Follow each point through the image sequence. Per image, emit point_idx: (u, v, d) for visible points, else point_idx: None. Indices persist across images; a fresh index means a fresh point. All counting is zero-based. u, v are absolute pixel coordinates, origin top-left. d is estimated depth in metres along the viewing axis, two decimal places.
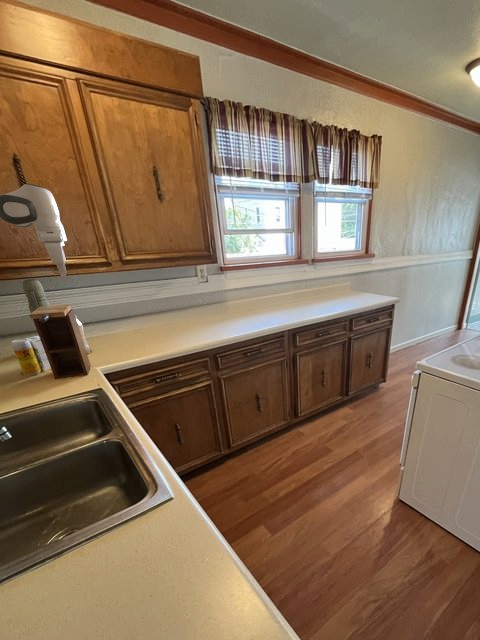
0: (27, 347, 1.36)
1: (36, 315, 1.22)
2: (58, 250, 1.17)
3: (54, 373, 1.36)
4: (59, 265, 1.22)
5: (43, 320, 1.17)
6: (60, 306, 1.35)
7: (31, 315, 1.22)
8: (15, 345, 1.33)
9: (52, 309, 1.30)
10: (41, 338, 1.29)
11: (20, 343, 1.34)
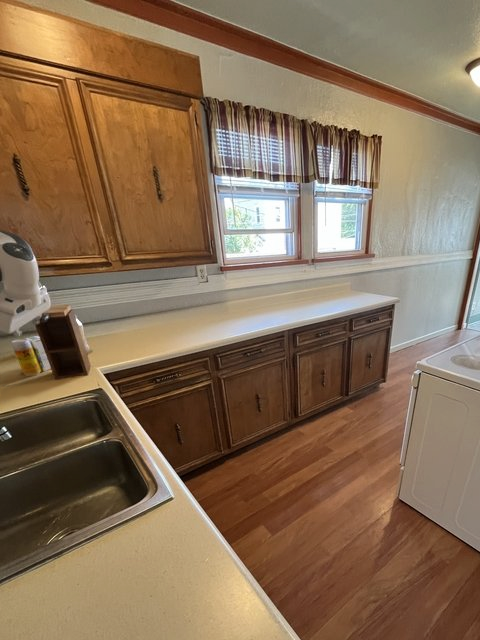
0: (27, 347, 1.36)
1: None
2: (4, 322, 1.01)
3: (54, 373, 1.36)
4: None
5: (43, 320, 1.17)
6: (60, 306, 1.35)
7: None
8: (15, 345, 1.33)
9: (52, 309, 1.30)
10: (41, 338, 1.29)
11: (20, 343, 1.34)
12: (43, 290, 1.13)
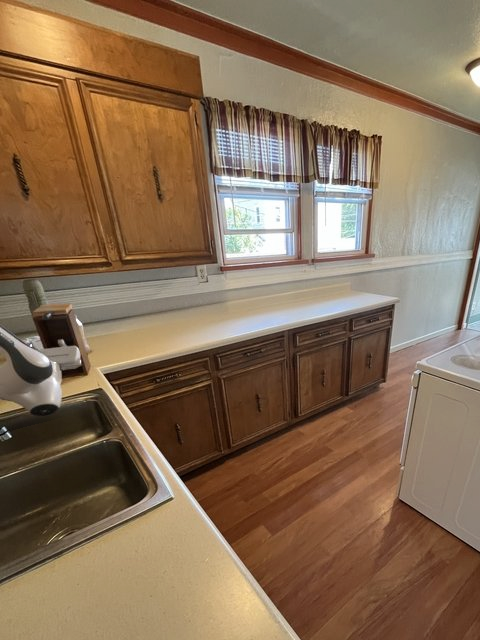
0: None
1: (39, 313, 1.26)
2: None
3: None
4: None
5: (46, 317, 1.20)
6: (62, 304, 1.39)
7: (34, 313, 1.25)
8: None
9: (54, 307, 1.33)
10: (41, 338, 1.29)
11: None
12: None
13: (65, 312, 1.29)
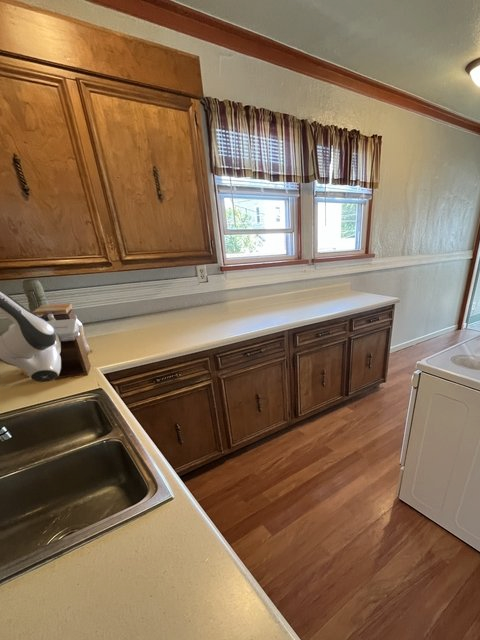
0: None
1: (39, 313, 1.26)
2: None
3: None
4: None
5: (46, 317, 1.20)
6: (62, 304, 1.39)
7: (34, 313, 1.25)
8: None
9: (54, 307, 1.33)
10: None
11: None
12: None
13: (65, 312, 1.29)
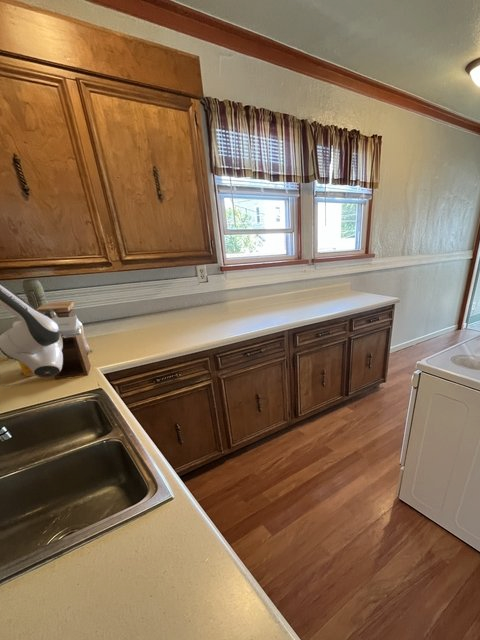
0: None
1: (41, 310, 1.30)
2: None
3: None
4: None
5: (48, 315, 1.24)
6: (64, 302, 1.42)
7: None
8: None
9: (56, 305, 1.37)
10: None
11: None
12: None
13: (67, 310, 1.33)
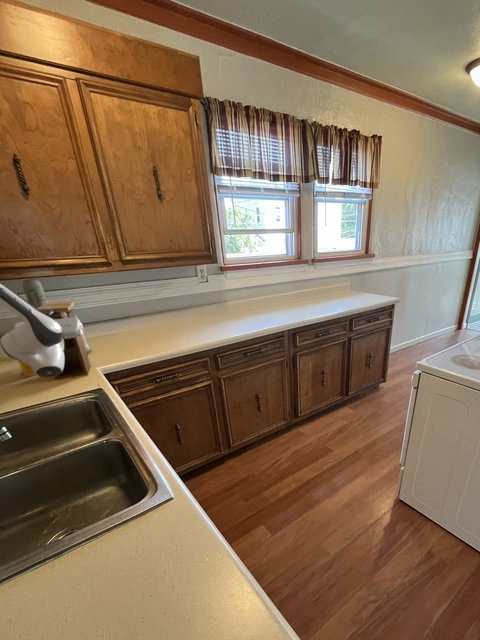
0: None
1: (41, 310, 1.30)
2: None
3: None
4: None
5: (48, 315, 1.24)
6: (64, 302, 1.42)
7: None
8: None
9: (56, 305, 1.37)
10: None
11: None
12: None
13: (67, 310, 1.33)
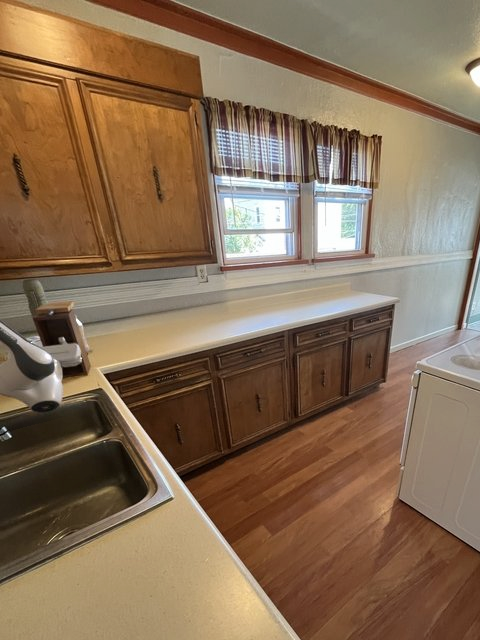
0: None
1: (41, 310, 1.30)
2: None
3: None
4: None
5: (48, 315, 1.24)
6: (64, 302, 1.42)
7: (37, 310, 1.29)
8: None
9: (56, 305, 1.37)
10: (41, 338, 1.29)
11: None
12: None
13: (67, 310, 1.33)
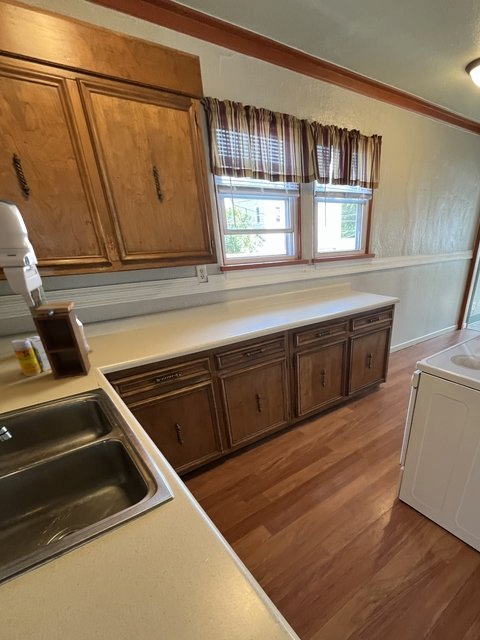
0: (27, 347, 1.36)
1: (41, 310, 1.30)
2: (19, 277, 0.96)
3: (54, 373, 1.36)
4: (24, 294, 1.01)
5: (48, 315, 1.24)
6: (64, 302, 1.42)
7: (37, 310, 1.29)
8: (15, 345, 1.33)
9: (56, 305, 1.37)
10: (41, 338, 1.29)
11: (20, 343, 1.34)
12: None
13: (67, 310, 1.33)
